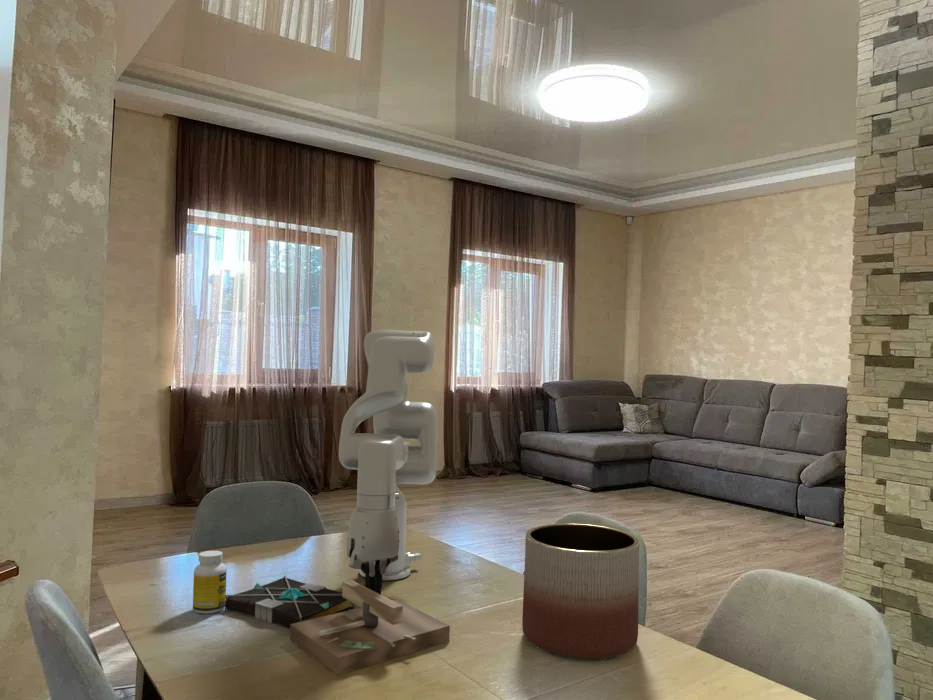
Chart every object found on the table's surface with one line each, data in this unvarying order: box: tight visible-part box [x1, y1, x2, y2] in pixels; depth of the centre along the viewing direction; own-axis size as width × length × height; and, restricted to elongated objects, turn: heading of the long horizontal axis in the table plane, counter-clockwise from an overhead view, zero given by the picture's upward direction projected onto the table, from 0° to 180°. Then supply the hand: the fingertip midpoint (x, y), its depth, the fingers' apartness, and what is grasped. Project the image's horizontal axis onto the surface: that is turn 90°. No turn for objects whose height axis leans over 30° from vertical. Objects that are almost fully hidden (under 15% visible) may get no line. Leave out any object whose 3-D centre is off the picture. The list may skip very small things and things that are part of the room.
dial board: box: [289, 598, 451, 676], centre depth 134 cm, size 24×20×3 cm
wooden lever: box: [319, 579, 403, 636], centre depth 132 cm, size 12×18×6 cm, turn 40°
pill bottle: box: [192, 550, 227, 615], centre depth 148 cm, size 6×6×12 cm
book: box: [224, 575, 355, 629], centre depth 150 cm, size 22×17×5 cm
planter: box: [521, 522, 640, 661], centre depth 138 cm, size 22×22×20 cm
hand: (373, 593), depth 141 cm, fingers closed
